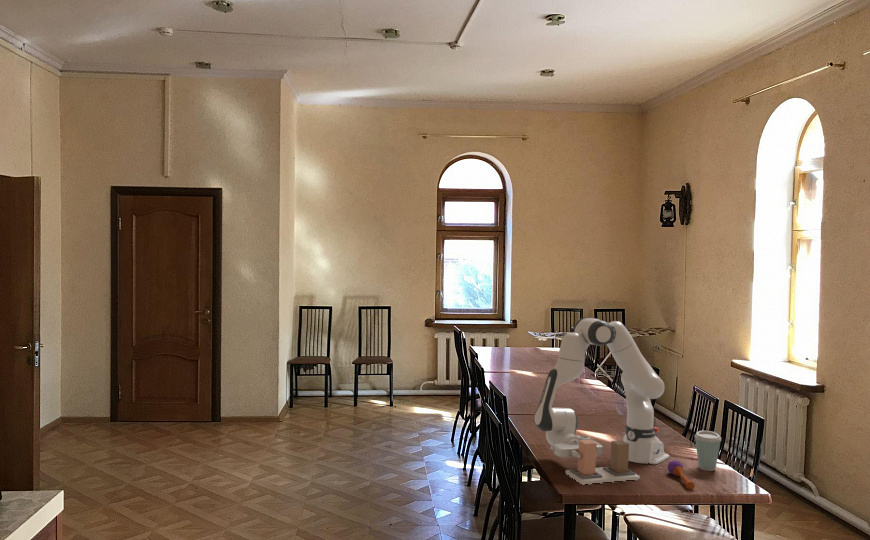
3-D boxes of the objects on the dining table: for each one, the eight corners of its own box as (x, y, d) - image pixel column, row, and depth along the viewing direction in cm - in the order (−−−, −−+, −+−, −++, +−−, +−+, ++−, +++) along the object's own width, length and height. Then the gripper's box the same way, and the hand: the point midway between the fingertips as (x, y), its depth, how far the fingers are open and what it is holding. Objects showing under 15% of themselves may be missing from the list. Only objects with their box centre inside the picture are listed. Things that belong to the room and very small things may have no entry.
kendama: (681, 479, 267) (665, 459, 287) (683, 494, 268) (666, 472, 288) (697, 477, 267) (679, 457, 287) (698, 492, 268) (680, 470, 288)
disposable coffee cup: (722, 474, 287) (724, 438, 287) (694, 471, 289) (696, 435, 289) (717, 465, 298) (719, 431, 297) (690, 463, 300) (692, 429, 299)
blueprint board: (621, 469, 288) (622, 437, 288) (639, 480, 276) (641, 446, 275) (565, 473, 280) (567, 440, 279) (582, 485, 268) (583, 450, 267)
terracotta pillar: (588, 469, 279) (589, 439, 278) (595, 473, 274) (596, 443, 273) (577, 469, 277) (578, 440, 277) (583, 474, 272) (585, 443, 272)
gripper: (548, 439, 284) (565, 449, 271) (592, 436, 290) (610, 446, 277) (547, 454, 284) (564, 465, 271) (591, 451, 291) (609, 461, 278)
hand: (588, 455), depth 274 cm, fingers closed on terracotta pillar, 5 cm apart
